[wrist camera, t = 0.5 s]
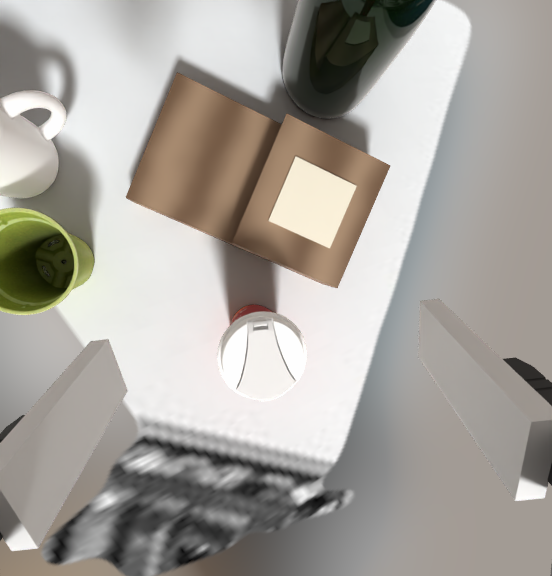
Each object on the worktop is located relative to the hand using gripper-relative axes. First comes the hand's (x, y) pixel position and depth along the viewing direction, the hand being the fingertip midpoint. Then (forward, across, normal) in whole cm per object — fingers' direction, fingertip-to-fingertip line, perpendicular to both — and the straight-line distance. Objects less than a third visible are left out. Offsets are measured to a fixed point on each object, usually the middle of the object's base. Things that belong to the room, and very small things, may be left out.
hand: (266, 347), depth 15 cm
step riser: (+30, -1, +3) cm, 30 cm away
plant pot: (+25, -23, -2) cm, 34 cm away
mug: (+28, -24, +10) cm, 39 cm away
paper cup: (+25, -4, -13) cm, 28 cm away
